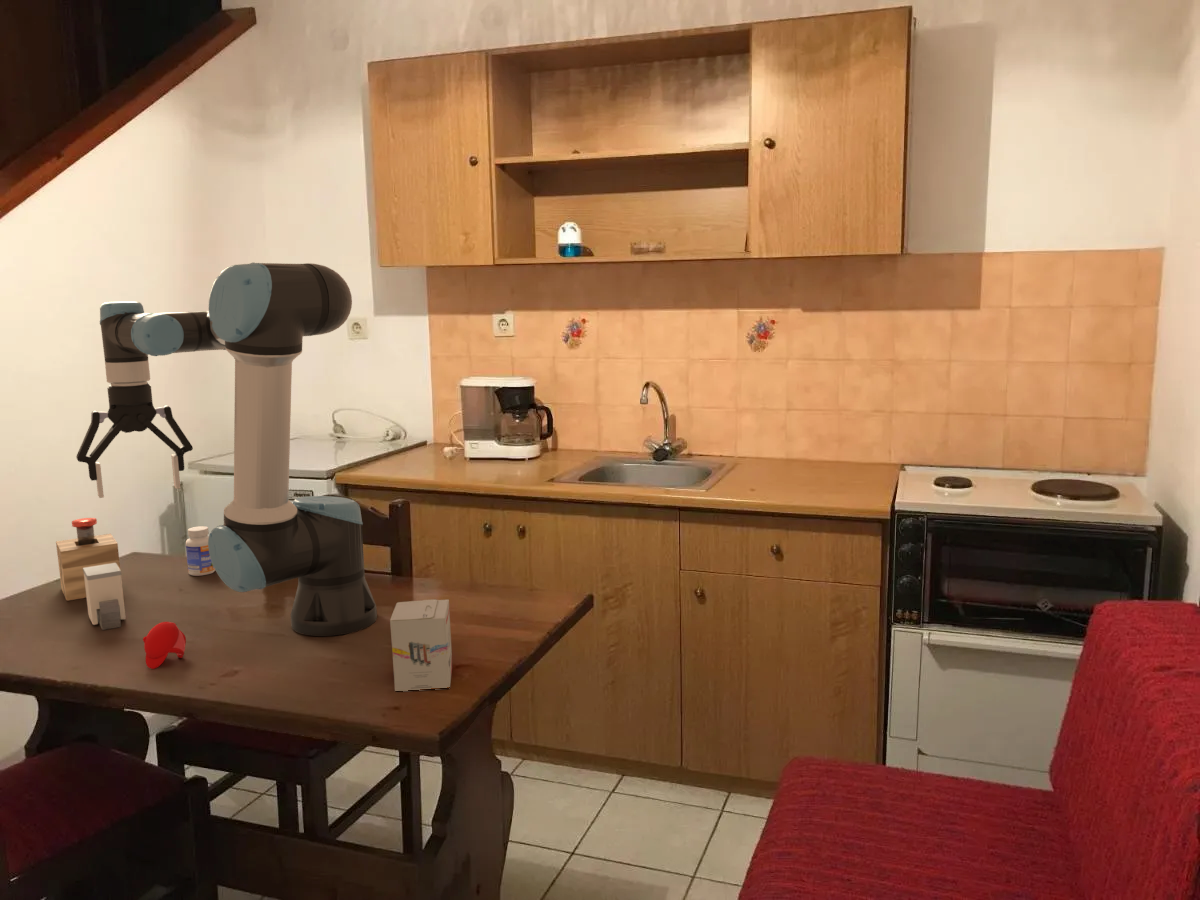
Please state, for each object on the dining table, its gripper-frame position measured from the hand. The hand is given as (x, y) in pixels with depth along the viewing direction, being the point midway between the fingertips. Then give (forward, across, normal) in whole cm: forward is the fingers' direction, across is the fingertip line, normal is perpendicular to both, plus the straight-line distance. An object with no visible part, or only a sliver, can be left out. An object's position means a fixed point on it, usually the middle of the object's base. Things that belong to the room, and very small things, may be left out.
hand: (139, 492), depth 188 cm
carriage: (+21, +9, +10) cm, 25 cm away
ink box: (+21, -30, +68) cm, 78 cm away
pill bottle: (+21, -12, -10) cm, 26 cm away
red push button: (+11, +10, -10) cm, 18 cm away
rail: (+21, +9, +5) cm, 23 cm away
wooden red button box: (+21, +10, -10) cm, 25 cm away
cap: (+21, +3, +37) cm, 43 cm away
